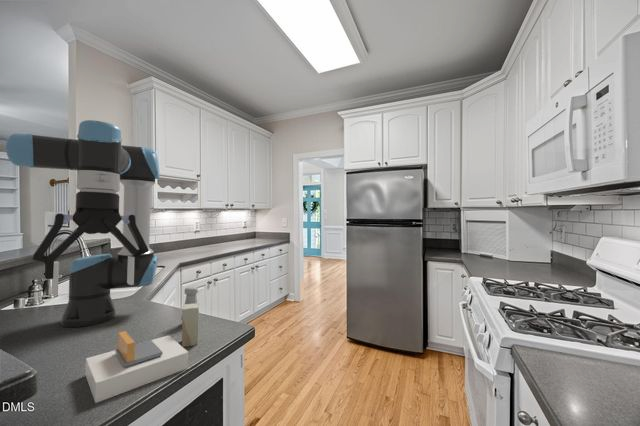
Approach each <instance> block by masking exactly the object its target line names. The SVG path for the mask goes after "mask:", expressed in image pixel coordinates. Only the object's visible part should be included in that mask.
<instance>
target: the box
mask: <svg viewBox="0 0 640 426" xmlns="http://www.w3.org/2000/svg"><path fill="white" fill-rule="evenodd" d="M199 305H200V303H198V302H197V303H194V304H185V303H184V304H183V306H182V313H183V316H182V315H181V317H182V319H181V321H182V322H181V324H182V325H181V346H182V347H183V348H185V347H192V346H197V345H198V340H199V319H198V315H200V311H199V310H200V309H199Z"/></svg>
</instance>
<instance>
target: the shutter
mask: <svg viewBox="0 0 640 426" xmlns="http://www.w3.org/2000/svg"><path fill="white" fill-rule="evenodd" d="M117 335H118V336H117V337H118V339H117V348H116V349H114V350H115V353H116V355H117V356H118V358H119V359H120V361H121V363H122V364H123V366H124V367H127V366H130V365H133V364H136V363H139V362H142V361H145V360H148V359H152V358H155V357H158V356H161V355H162V351H161V350H160V349H159V348H158V347H157V346H156V345H155V344H154V343H153V342H152V341H151V340H152V339H149V340H145V341H140V342H137V343H136V342H135V341H134V339H133V338H132V337H131V335H129V334H128V332H127V331H126V330H124V331H120V332H118V333H117Z"/></svg>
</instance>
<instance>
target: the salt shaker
mask: <svg viewBox="0 0 640 426" xmlns="http://www.w3.org/2000/svg"><path fill="white" fill-rule="evenodd" d="M198 292H199V288H198V287H197V286H196V285H195V286H193V285H191V286H187V287H185V288H184V294H185V295H186V296H185V300H184V304H194V303H198V298H197V297H198V296H197V294H198ZM182 316H183V312H182V313H181V319H180V320H182ZM199 319H200V314H199V315H198V320H199Z"/></svg>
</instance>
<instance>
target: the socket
mask: <svg viewBox="0 0 640 426" xmlns="http://www.w3.org/2000/svg"><path fill="white" fill-rule="evenodd" d="M150 340H151V341H152V342H153V343H154V344H155V345H156V346H157V347H158V348H159V349H160V350H161V351H162V355H161V356H158V357H155V358H152V359H148V360H145V361H142V362H139V363H136V364H133V365H130V366H127V367H124V366H123V364H122V363H121V361H120V359H119V358H118V356H117V355H116V353H115V349H114V350H111V351H108V352H104V353H100V354H97V355H93V356H90V357H87V358H85V378H86V381H87V384H88V386H89V390H90V392H91V395H92V398H93V400H94V403H95V404H97V403H99V402H103V401H104V400H108V399H110V398H113V397H115V396H118V395H119V396H120V394H123V393H126V392H128V391H133V390H134V389H137V388H140V387H142V386H144V385H148V384H149V383H153V382H156V381H158V380H160V379H163V378H166V377H169V376H171V375H174V374H177V373H179V372H181V371H182V372H183V371H185V370H187V369H189V351H188V350H187V349H186V348H185V347H182V344H180V343H178V341H176V340H175V339H174V338H173V337H172V336H170V335H165V336H161V337H158V338H154V339H150Z"/></svg>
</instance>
